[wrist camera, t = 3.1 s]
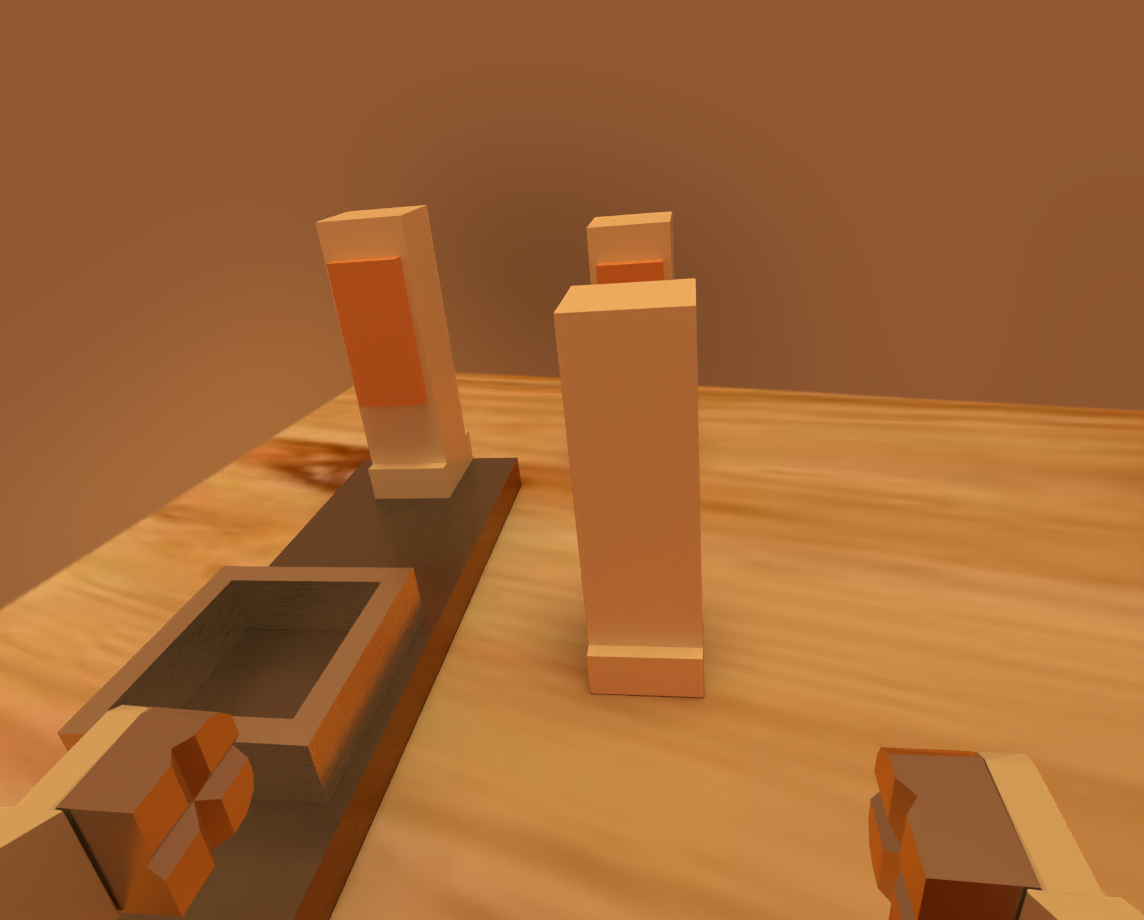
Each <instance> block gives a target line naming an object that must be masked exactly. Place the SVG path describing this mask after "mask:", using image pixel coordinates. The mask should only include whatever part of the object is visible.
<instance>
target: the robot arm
mask: <svg viewBox="0 0 1144 920" xmlns="http://www.w3.org/2000/svg"><path fill="white" fill-rule="evenodd" d="M238 735H239V732H238V730H237V727H236V725H235V723H234V720H233V718H232V716H231V715H229V714H225V713H220V712H210V711H198V710H186V709H174V708H162V707H143V706H130V705H121V706H119V707H116V708H114V709H112V710H110V711H107V712H106V713H105V714H104V715H103V717H102V718H101V719H100V720H99V721H98V722H97V723H96V724H95V725H94V726H93V727H92V728H91V729H90V730H89V731H88V732H87V733H86V734H85V735H84V736H83V737H82V738H81V739H80V740H79V741H78V742H77V743H76V744H75V745H74V746H73V747H72V748H71V749H70V750H69V751H68V752H67V753H66V754H65V755H64V757H63V758H62V759H61V760H60V761H59V762H58V763H57V764H56V765H55V766H54V767H53V768H52V769H51V770H50V771H49V772H48V773H47V774H46V775H45V776H44V777H43V778H42V779H41V780H40V781H39V782H38V783H37V784H36V785H35V786H34V787H33V788H32V789H31V790H30V791H29V792H28V793H27V794H26V795H25V797H24V798H23V799H22V800H21V801H20V802H19V803H18V804H17V805H16V806H3V807H1V808H0V920H116V919H117V918H119V916H120V915H119V913H118V912H121V913H135V914H149V915H163V916H177V917H183V915H184V914H185V912H186V911H187V909H188V907H189V906H190V904H191V903H192V901H193V899H194V898H195V896H196V895H197V893H198V892H199V890H200V888H201V887H202V885H203V884H204V882H205V881H206V879H207V877H208V876H209V874H210V873H211V871H212V869H213V868H214V866H215V861H214V848H216V847H217V846H218V845H220V844H221V843H223V842H224V841H225V840H227V839H228V838H230V837H231V836H232V835H234V834H235V833H236V831H237V829H238V828H239V826H240V824H241V823H242V821H243V819H244V818H245V816H246V814H247V812H248V808H249V805H250V801H251V798H252V794H253V791H254V781H253V770H252V767H251V765H250V762H249V759H248V758H247V757H246V756H245V755H244V754H243V753H242V752H241V751H239V750H238V749H237V748H236V747H235V746H234V743H235V741H236V739H237V737H238ZM874 772H875V775H876V779H877V783H878V787H879V790H880V792H879V793H877V794H876V795H875V796H874V797H873V798H871V800H870V810H869V820H868V821H869V846H870V852H871V858H872V865H873V869H874V874H875V878H876V883H877V887H878V889H879V890H880V891H881V892H882V893H883V894H884V895H885V896H886V897H887V898H888V899H889V901H890V902H891V908H890V915H889V920H1144V914H1143V913H1141V912H1140V911H1139V910H1138V909H1136V908H1135V907H1134V906H1133V905H1131V904H1130V903H1129V902H1128V901H1127V900H1125V899H1124V898H1122V897H1114V896H1106V895H1105V893H1104V891H1103V889H1102V887H1101V885H1100V884H1099V882H1098V880H1097V878H1096V876H1095V874H1094V872H1093V871H1092V869H1091V867H1090V865H1089V863H1088V861H1087V859H1086V858H1085V856H1084V854H1083V852H1082V850H1081V848H1080V846H1079V844H1078V843H1077V841H1076V839H1075V837H1074V835H1073V833H1072V831H1071V830H1070V828H1069V826H1068V824H1067V822H1066V820H1065V818H1064V816H1063V815H1062V813H1061V811H1060V809H1059V807H1058V805H1057V803H1056V802H1055V800H1054V798H1053V796H1052V794H1051V792H1050V790H1049V788H1048V787H1047V785H1046V783H1045V781H1044V779H1043V777H1042V775H1041V774H1040V772H1039V770H1038V768H1037V766H1036V764H1035V762H1034V761H1033V760H1032V759H1030V758H1029V757H1028V756H1027V755H1026V754H1017V753H996V752H975V753H973V752H971V751H956V750H933V749H910V748H887V747H881V748H880V750H879V752H878V754H877V758H876V764H875V771H874Z"/></svg>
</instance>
